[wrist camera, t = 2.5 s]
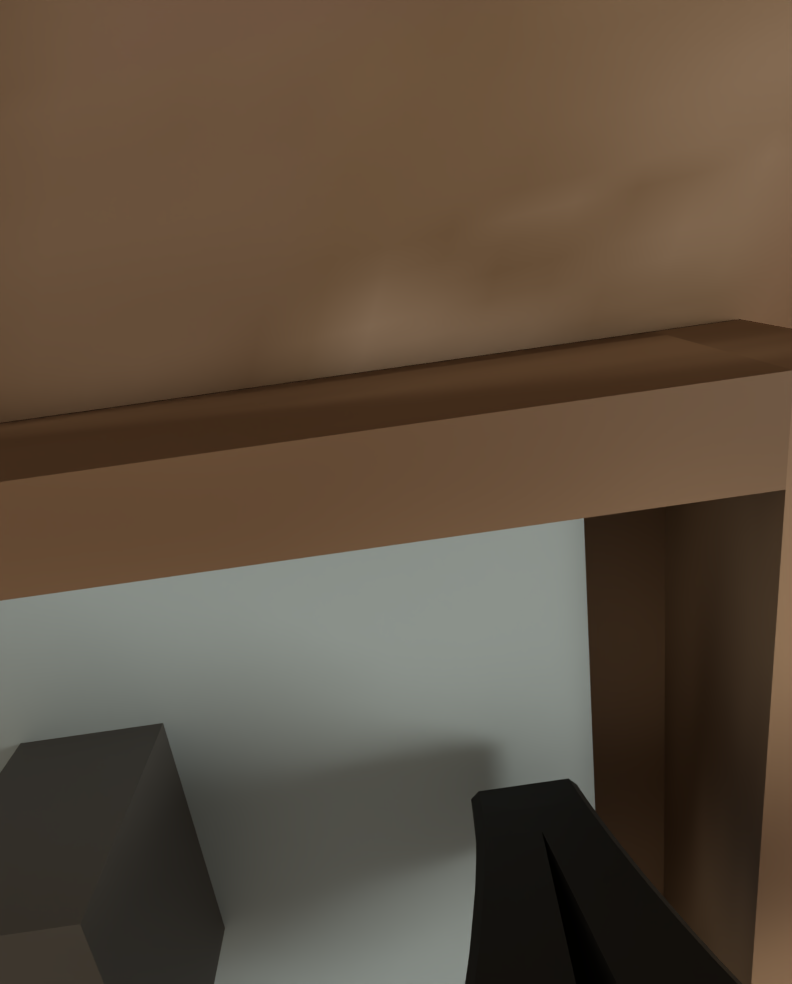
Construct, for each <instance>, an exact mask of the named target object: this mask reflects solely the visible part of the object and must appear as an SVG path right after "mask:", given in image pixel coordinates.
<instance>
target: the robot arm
mask: <svg viewBox="0 0 792 984" xmlns="http://www.w3.org/2000/svg"><path fill="white" fill-rule="evenodd" d="M471 803H472V812H473V820H474V829H475V837H476V875H475V895H474V906H473V918H472V929H471V941H470V950H469V959H468V966H467V973H466V980H465V984H742V983H741V982H740V981H739V980H738V979H737V978H736V976H735V975H734V974H733V973H732V972H731V971H730V970H729V969H728V968H727V967H726V966H725V965H724V964H723V963H722V962H721V961H720V960H719V959H718V957H717V956H716V955H715V954H714V953H713V952H712V951H711V950H710V949H709V948H708V946H707V945H706V944H705V943H704V942H703V941H702V940H701V939H700V938H699V937H698V935H697V934H696V933H695V932H694V931H693V930H692V929H691V928H690V926H689V925H688V924H687V923H686V922H685V921H684V920H683V918H682V917H681V916H680V915H679V914H678V913H677V911H676V910H675V909H674V908H673V907H672V906H671V905H670V903H669V902H668V901H667V900H666V899H665V898H664V896H663V895H662V894H661V893H660V892H659V891H658V890H657V888H656V887H655V886H654V885H653V884H652V883H651V881H650V880H649V879H648V878H647V876H646V875H645V874H644V873H643V872H642V870H641V869H640V868H639V867H638V866H637V864H636V863H635V862H634V861H633V859H632V858H631V857H630V856H629V854H628V853H627V852H626V850H625V849H624V848H623V847H622V845H621V844H620V843H619V842H618V840H617V839H616V838H615V837H614V835H613V834H612V833H611V831H610V830H609V829H608V827H607V826H606V825H605V823H604V822H603V821H602V819H601V818H600V817H599V815H598V814H597V813H596V811H595V810H594V808H593V807H592V806H591V804H590V803H589V801H588V800H587V799H586V797H585V796H584V794H583V793H582V791H581V790H580V788H579V787H578V785H577V784H576V783H574V782H573V781H571V780H570V779H569V778H568V779H561V780H554V781H547V782H540V783H533V784H526V785H519V786H512V787H505V788H498V789H491V790H484V791H478V792H477V793H476V795H475V796H474V797H473V798H472V799H471Z"/></svg>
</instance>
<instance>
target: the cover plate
mask: <svg viewBox="0 0 792 984" xmlns="http://www.w3.org/2000/svg"><path fill="white" fill-rule="evenodd" d="M568 778H569V779H570V780H571V781H573V782H574V783H576V784H577V785H578V787H579V788H580V790H581V791H582V793H583V794H584V796H585V797H586V799H587V800H588V801H589V803H590V804H591V806H592V807H593V808H594V810H595V792H594V766H593V741H592V716H591V690H590V665H589V639H588V614H587V588H586V563H585V538H584V518H581V519H574V520H567V521H560V522H553V523H546V524H539V525H532V526H525V527H518V528H511V529H504V530H497V531H490V532H483V533H476V534H469V535H461V536H454V537H447V538H440V539H433V540H426V541H419V542H412V543H405V544H398V545H391V546H384V547H377V548H370V549H363V550H356V551H349V552H341V553H334V554H327V555H320V556H313V557H306V558H299V559H292V560H285V561H278V562H271V563H264V564H257V565H250V566H243V567H236V568H229V569H221V570H214V571H207V572H200V573H193V574H186V575H179V576H172V577H165V578H158V579H151V580H144V581H137V582H130V583H123V584H116V585H108V586H101V587H94V588H87V589H80V590H73V591H66V592H59V593H52V594H45V595H38V596H31V597H24V598H17V599H10V600H3V601H0V984H465V980H466V973H467V966H468V959H469V950H470V941H471V929H472V918H473V906H474V895H475V875H476V837H475V829H474V820H473V812H472V803H471V799H472V798H473V797H474V796H475V795H476V793H477V792H478V791H484V790H491V789H498V788H505V787H512V786H519V785H526V784H533V783H540V782H547V781H554V780H561V779H568Z"/></svg>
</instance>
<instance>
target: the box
mask: <svg viewBox="0 0 792 984" xmlns="http://www.w3.org/2000/svg"><path fill="white" fill-rule="evenodd" d="M581 518H584V538H585V563H586V588H587V614H588V639H589V665H590V690H591V716H592V741H593V766H594V792H595V811H596V813H597V814H598V815H599V817H600V818H601V819H602V821H603V822H604V823H605V825H606V826H607V827H608V829H609V830H610V831H611V833H612V834H613V835H614V837H615V838H616V839H617V840H618V842H619V843H620V844H621V845H622V847H623V848H624V849H625V850H626V852H627V853H628V854H629V856H630V857H631V858H632V859H633V861H634V862H635V863H636V864H637V866H638V867H639V868H640V869H641V870H642V872H643V873H644V874H645V875H646V876H647V878H648V879H649V880H650V881H651V883H652V884H653V885H654V886H655V887H656V888H657V890H658V891H659V892H660V893H661V894H662V895H663V896H664V898H665V899H666V900H667V901H668V902H669V903H670V905H671V906H672V907H673V908H674V909H675V910H676V911H677V913H678V914H679V915H680V916H681V917H682V918H683V920H684V921H685V922H686V923H687V924H688V925H689V926H690V928H691V929H692V930H693V931H694V932H695V933H696V934H697V935H698V937H699V938H700V939H701V940H702V941H703V942H704V943H705V944H706V945H707V946H708V948H709V949H710V950H711V951H712V952H713V953H714V954H715V955H716V956H717V957H718V959H719V960H720V961H721V962H722V963H723V964H724V965H725V966H726V967H727V968H728V969H729V970H730V971H731V972H732V973H733V974H734V975H735V976H736V978H737V979H738V980H739V981H740V982H741V983H742V984H792V329H790V328H784V327H779V326H774V325H768V324H763V323H757V322H752V321H746V320H741V319H739V320H732V321H725V322H718V323H711V324H704V325H696V326H689V327H682V328H675V329H668V330H661V331H654V332H647V333H639V334H632V335H625V336H618V337H611V338H604V339H597V340H590V341H582V342H575V343H568V344H561V345H554V346H547V347H540V348H533V349H525V350H518V351H511V352H504V353H497V354H490V355H483V356H476V357H469V358H461V359H454V360H447V361H440V362H433V363H426V364H419V365H412V366H404V367H397V368H390V369H383V370H376V371H369V372H362V373H355V374H347V375H340V376H333V377H326V378H319V379H312V380H305V381H298V382H290V383H283V384H276V385H269V386H262V387H255V388H248V389H241V390H233V391H226V392H219V393H212V394H205V395H198V396H191V397H184V398H177V399H169V400H162V401H155V402H148V403H141V404H134V405H127V406H120V407H112V408H105V409H98V410H91V411H84V412H77V413H70V414H63V415H55V416H48V417H41V418H34V419H27V420H20V421H13V422H6V423H0V601H3V600H10V599H17V598H24V597H31V596H38V595H45V594H52V593H59V592H66V591H73V590H80V589H87V588H94V587H101V586H108V585H116V584H123V583H130V582H137V581H144V580H151V579H158V578H165V577H172V576H179V575H186V574H193V573H200V572H207V571H214V570H221V569H229V568H236V567H243V566H250V565H257V564H264V563H271V562H278V561H285V560H292V559H299V558H306V557H313V556H320V555H327V554H334V553H341V552H349V551H356V550H363V549H370V548H377V547H384V546H391V545H398V544H405V543H412V542H419V541H426V540H433V539H440V538H447V537H454V536H461V535H469V534H476V533H483V532H490V531H497V530H504V529H511V528H518V527H525V526H532V525H539V524H546V523H553V522H560V521H567V520H574V519H581Z"/></svg>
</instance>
